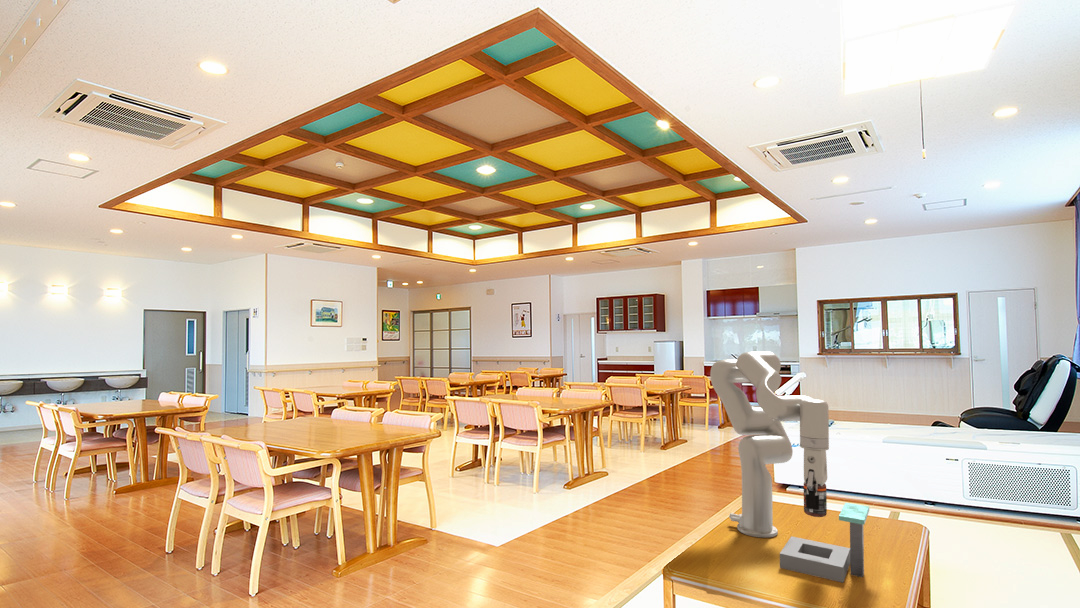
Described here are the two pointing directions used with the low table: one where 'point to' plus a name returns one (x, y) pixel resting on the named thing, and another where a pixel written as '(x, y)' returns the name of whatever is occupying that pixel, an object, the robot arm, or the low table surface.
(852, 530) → the teal-capped gray pillar
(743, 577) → the low table surface
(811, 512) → the supplement bottle
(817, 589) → the low table surface
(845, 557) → the socket block
